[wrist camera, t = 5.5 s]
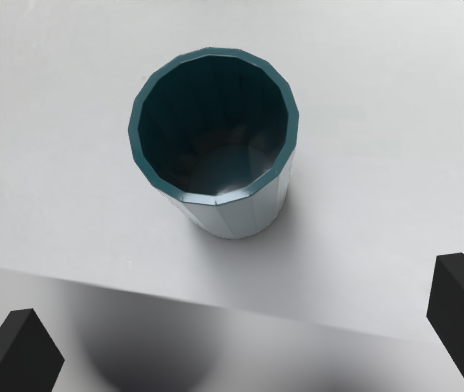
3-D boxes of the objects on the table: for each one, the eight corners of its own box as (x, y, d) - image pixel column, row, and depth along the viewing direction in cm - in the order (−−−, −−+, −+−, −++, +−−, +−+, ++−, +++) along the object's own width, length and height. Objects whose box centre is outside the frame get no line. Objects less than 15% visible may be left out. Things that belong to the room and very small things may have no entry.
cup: (176, 232, 26) (113, 194, 15) (192, 137, 27) (146, 43, 17) (279, 245, 25) (289, 214, 14) (289, 146, 26) (305, 52, 16)
